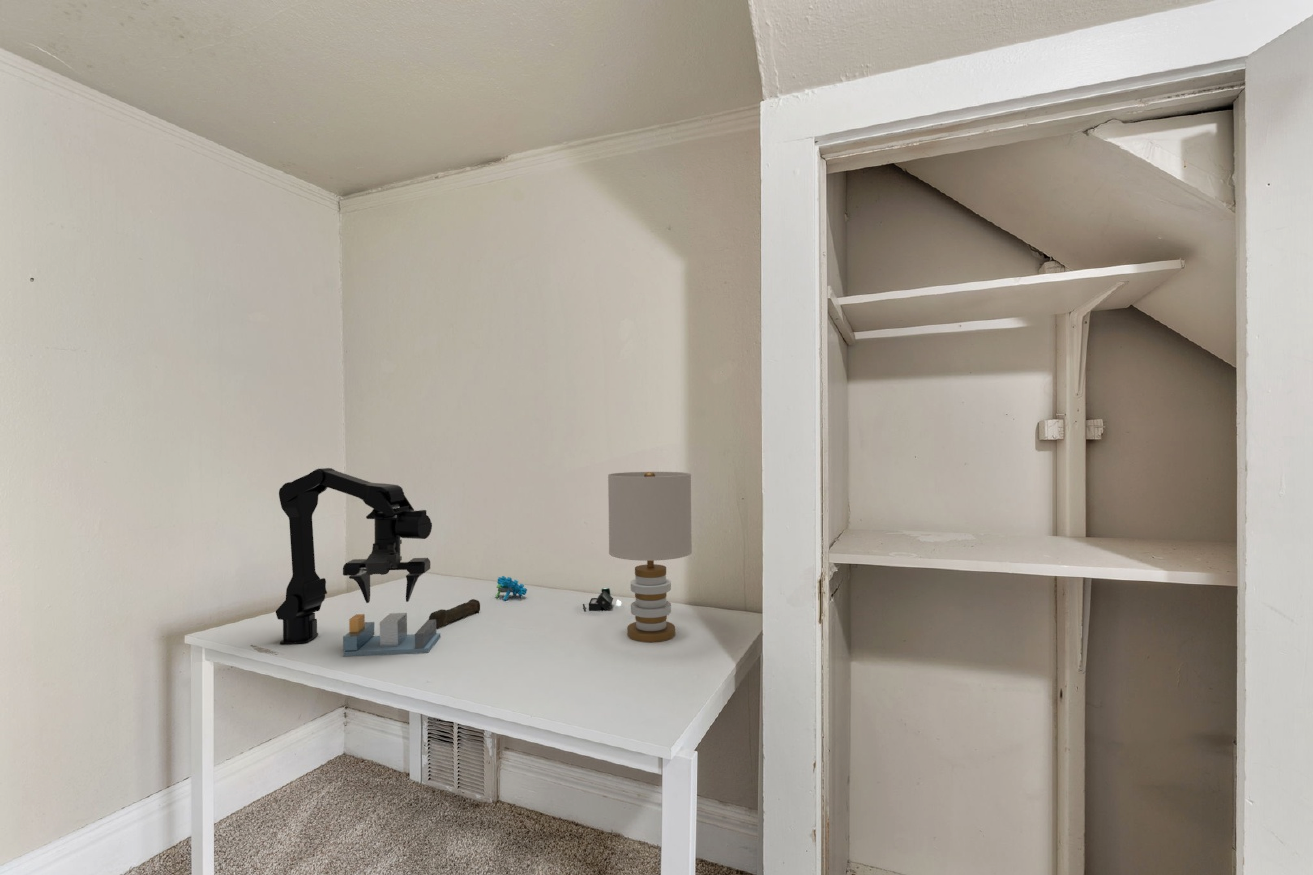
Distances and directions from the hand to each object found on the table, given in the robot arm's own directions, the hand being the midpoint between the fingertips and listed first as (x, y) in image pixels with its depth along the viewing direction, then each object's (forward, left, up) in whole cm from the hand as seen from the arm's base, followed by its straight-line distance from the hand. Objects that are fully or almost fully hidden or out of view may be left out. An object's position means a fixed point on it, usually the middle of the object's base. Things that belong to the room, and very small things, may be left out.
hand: (387, 602), depth 145 cm
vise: (+1, 0, -11) cm, 11 cm away
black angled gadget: (+51, +26, -11) cm, 58 cm away
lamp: (+64, +1, -11) cm, 65 cm away
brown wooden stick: (+11, +19, -11) cm, 25 cm away
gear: (+23, +41, -11) cm, 49 cm away
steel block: (+1, 0, -10) cm, 10 cm away
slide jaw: (-7, 0, -9) cm, 11 cm away
